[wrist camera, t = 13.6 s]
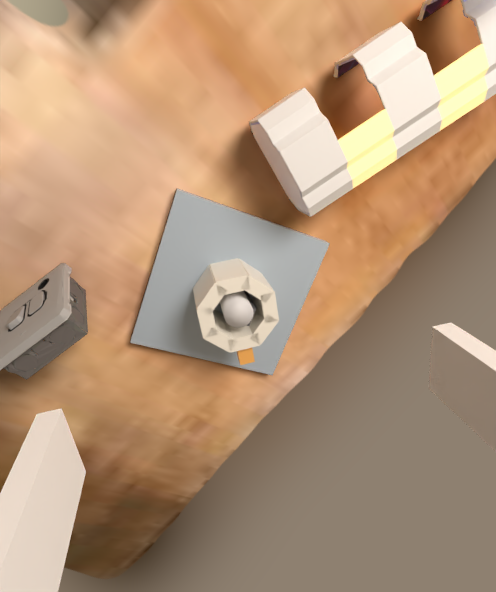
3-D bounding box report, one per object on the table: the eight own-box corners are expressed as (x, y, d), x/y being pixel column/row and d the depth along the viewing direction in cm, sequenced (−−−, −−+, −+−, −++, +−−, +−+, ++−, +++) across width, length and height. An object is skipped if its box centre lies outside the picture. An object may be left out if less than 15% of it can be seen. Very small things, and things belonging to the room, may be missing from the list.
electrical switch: (65, 258, 42) (48, 297, 34) (101, 292, 45) (93, 335, 36) (-2, 310, 43) (-35, 360, 35) (37, 341, 45) (15, 394, 37)
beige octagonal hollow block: (206, 347, 48) (211, 374, 42) (188, 268, 44) (191, 287, 38) (271, 332, 48) (284, 357, 43) (258, 253, 45) (271, 269, 39)
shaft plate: (131, 337, 47) (125, 370, 40) (176, 188, 42) (179, 197, 35) (270, 370, 52) (285, 403, 45) (325, 241, 47) (352, 257, 40)
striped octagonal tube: (454, -21, 40) (579, -90, 28) (484, 79, 44) (603, 57, 32) (245, 122, 41) (278, 115, 29) (293, 207, 45) (339, 232, 33)
